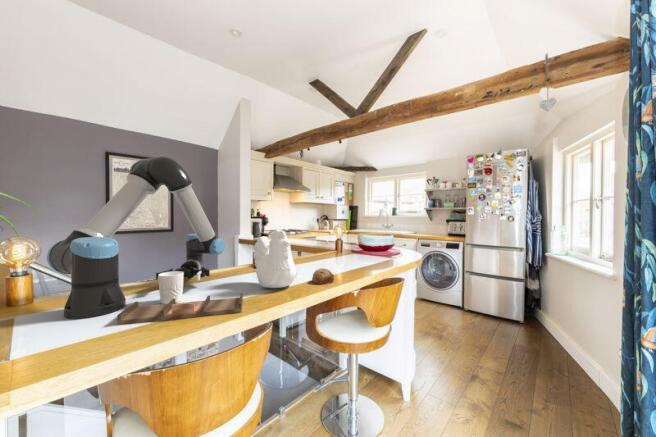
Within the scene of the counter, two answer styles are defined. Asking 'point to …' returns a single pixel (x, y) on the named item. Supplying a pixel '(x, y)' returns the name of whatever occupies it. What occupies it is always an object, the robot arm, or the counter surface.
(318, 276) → the bread roll
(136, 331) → the counter surface
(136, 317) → the brown compartment tray
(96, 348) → the counter surface
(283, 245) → the decorative rooster
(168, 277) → the white cup
